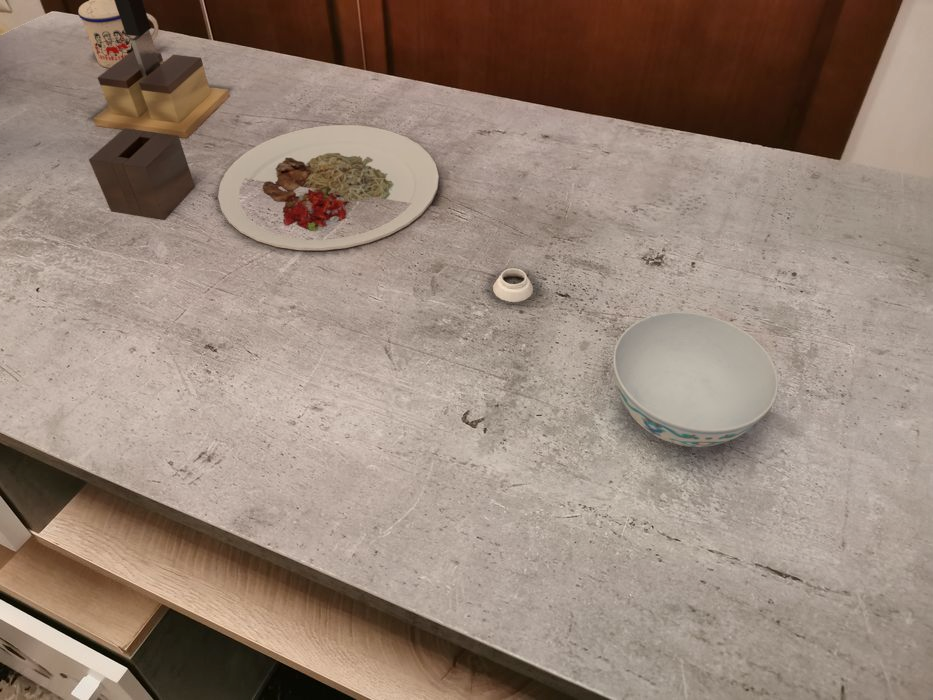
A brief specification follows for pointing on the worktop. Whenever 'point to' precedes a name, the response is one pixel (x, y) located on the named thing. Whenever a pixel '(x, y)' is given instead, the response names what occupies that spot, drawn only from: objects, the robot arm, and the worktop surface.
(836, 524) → the worktop surface
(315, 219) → the plated food
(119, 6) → the cake knife
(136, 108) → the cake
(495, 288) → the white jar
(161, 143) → the knife block
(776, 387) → the chinaware
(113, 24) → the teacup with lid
